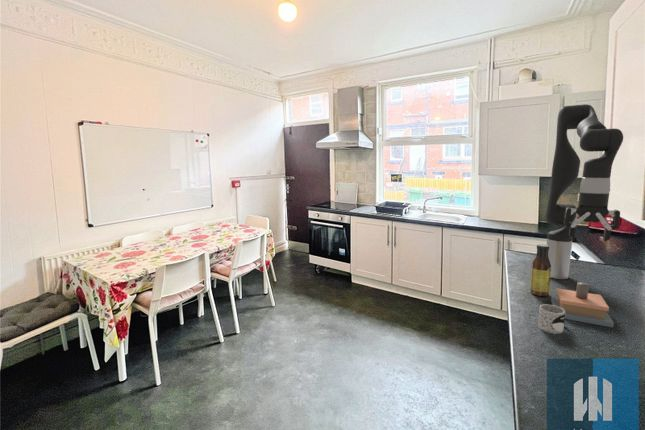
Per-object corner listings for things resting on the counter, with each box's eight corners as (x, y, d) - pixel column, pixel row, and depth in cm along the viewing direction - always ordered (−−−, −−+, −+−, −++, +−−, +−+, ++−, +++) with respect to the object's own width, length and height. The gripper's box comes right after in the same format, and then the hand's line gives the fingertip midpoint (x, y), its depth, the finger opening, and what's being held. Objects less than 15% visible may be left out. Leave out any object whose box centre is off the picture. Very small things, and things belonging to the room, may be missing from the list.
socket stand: (551, 300, 124) (552, 289, 123) (601, 308, 116) (603, 297, 115) (555, 316, 111) (557, 304, 110) (613, 327, 103) (615, 314, 103)
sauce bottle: (551, 297, 126) (557, 248, 123) (533, 296, 127) (538, 247, 124) (543, 290, 133) (548, 243, 129) (527, 289, 134) (531, 243, 130)
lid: (556, 291, 121) (558, 275, 120) (600, 298, 115) (602, 281, 114) (561, 303, 111) (563, 286, 110) (608, 311, 105) (611, 293, 104)
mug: (555, 336, 99) (558, 315, 98) (533, 326, 105) (535, 307, 104) (573, 328, 104) (575, 308, 102) (550, 319, 109) (552, 300, 108)
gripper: (619, 191, 106) (613, 239, 109) (565, 189, 113) (560, 235, 116) (626, 193, 100) (619, 244, 102) (569, 191, 107) (563, 239, 109)
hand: (588, 239), depth 109 cm, fingers open, 8 cm apart
